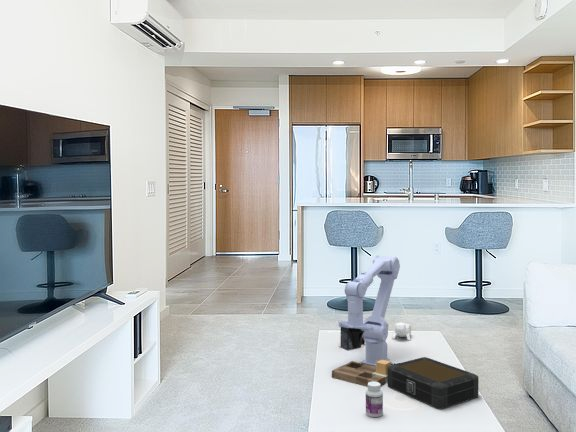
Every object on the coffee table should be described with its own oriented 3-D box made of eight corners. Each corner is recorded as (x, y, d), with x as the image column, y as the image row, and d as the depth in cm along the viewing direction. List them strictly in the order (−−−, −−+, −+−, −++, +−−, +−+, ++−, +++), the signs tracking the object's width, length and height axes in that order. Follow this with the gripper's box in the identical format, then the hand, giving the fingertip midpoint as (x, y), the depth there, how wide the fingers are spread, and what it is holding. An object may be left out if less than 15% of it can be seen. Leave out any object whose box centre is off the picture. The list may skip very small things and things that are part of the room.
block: (381, 369, 195) (381, 359, 194) (391, 372, 192) (391, 361, 192) (376, 372, 191) (376, 362, 191) (385, 375, 189) (385, 364, 189)
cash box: (384, 387, 185) (384, 365, 184) (424, 376, 195) (424, 355, 195) (438, 411, 164) (438, 387, 163) (480, 397, 174) (480, 375, 174)
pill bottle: (363, 410, 164) (363, 380, 164) (380, 410, 165) (380, 380, 164) (367, 418, 159) (367, 387, 159) (384, 417, 159) (384, 386, 159)
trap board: (352, 367, 205) (352, 361, 205) (395, 377, 193) (395, 371, 193) (331, 377, 195) (331, 370, 195) (376, 388, 183) (376, 381, 182)
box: (348, 350, 227) (348, 326, 227) (340, 347, 232) (340, 323, 231) (361, 347, 232) (361, 324, 231) (353, 344, 236) (353, 321, 236)
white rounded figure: (394, 341, 251) (389, 337, 238) (395, 323, 254) (390, 318, 241) (412, 342, 248) (408, 339, 235) (413, 324, 251) (409, 320, 238)
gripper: (333, 312, 201) (334, 346, 201) (366, 317, 191) (366, 353, 192) (344, 308, 206) (344, 342, 207) (376, 313, 197) (376, 349, 197)
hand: (355, 347), depth 200 cm, fingers closed
